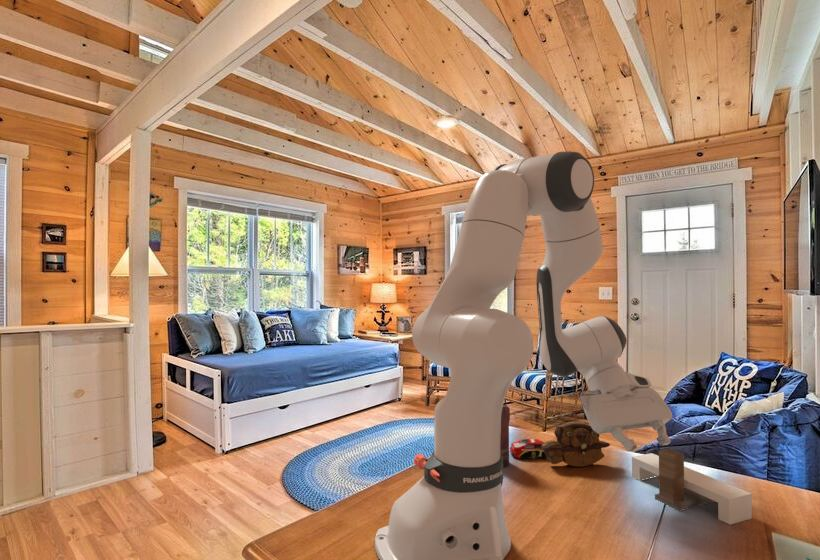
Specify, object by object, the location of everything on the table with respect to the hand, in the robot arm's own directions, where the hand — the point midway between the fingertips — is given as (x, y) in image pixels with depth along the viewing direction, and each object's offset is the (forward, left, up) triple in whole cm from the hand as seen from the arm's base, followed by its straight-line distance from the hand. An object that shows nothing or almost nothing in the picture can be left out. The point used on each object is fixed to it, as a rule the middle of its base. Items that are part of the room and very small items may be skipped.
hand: (649, 446), depth 90 cm
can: (-21, +25, -10) cm, 34 cm away
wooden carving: (-4, +17, -10) cm, 20 cm away
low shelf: (+6, -3, -9) cm, 12 cm away
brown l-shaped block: (+4, -5, -10) cm, 12 cm away
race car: (-9, +25, -10) cm, 29 cm away
